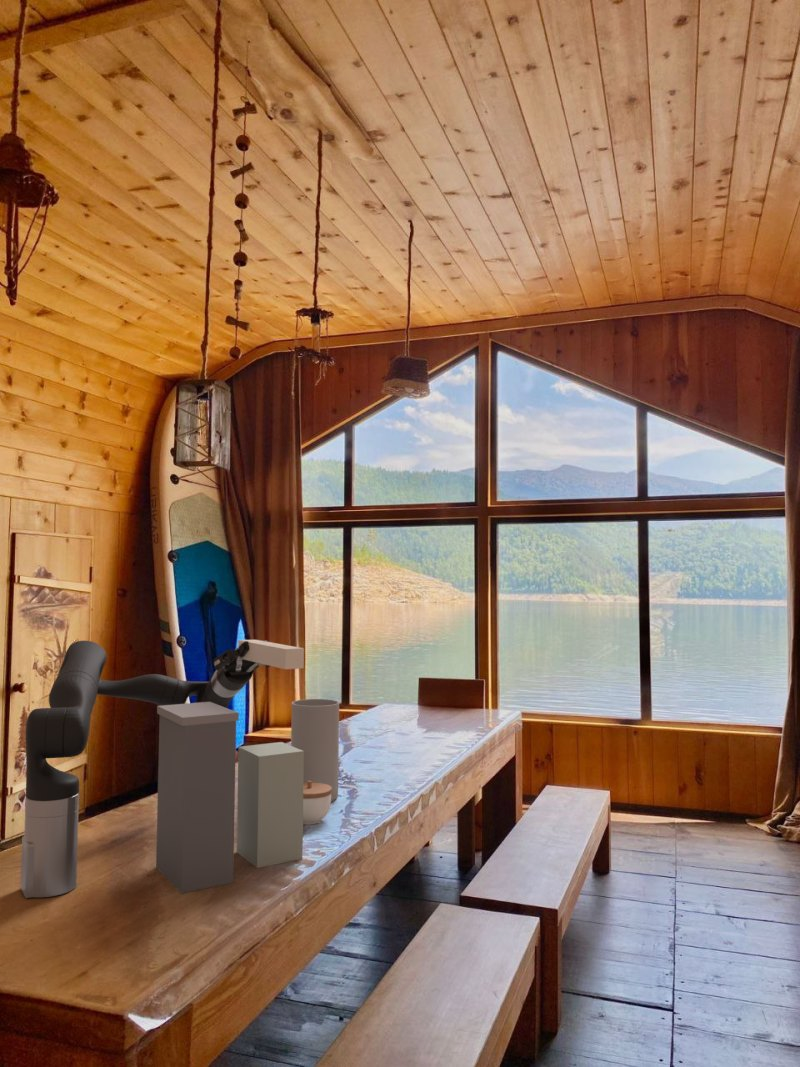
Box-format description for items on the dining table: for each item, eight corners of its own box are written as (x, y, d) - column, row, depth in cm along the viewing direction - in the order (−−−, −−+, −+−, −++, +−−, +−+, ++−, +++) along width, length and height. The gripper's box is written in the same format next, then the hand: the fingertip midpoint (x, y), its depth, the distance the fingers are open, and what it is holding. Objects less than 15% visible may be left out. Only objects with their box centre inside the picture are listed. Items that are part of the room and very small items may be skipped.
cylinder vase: (285, 794, 218) (287, 700, 219) (330, 790, 222) (331, 698, 224) (296, 806, 206) (298, 707, 208) (343, 802, 211) (344, 704, 212)
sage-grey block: (257, 867, 163) (259, 756, 164) (236, 852, 172) (238, 746, 173) (302, 858, 168) (303, 751, 169) (280, 843, 177) (281, 741, 179)
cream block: (285, 669, 162) (285, 649, 162) (238, 658, 183) (238, 640, 183) (303, 668, 164) (303, 648, 164) (254, 657, 185) (255, 639, 185)
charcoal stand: (178, 893, 149) (182, 717, 151) (153, 867, 163) (157, 705, 164) (235, 882, 155) (238, 712, 157) (206, 857, 168) (209, 701, 170)
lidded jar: (337, 816, 198) (338, 777, 199) (321, 829, 188) (322, 788, 188) (297, 812, 201) (297, 774, 202) (279, 825, 191) (279, 784, 191)
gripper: (199, 663, 189) (223, 630, 177) (256, 660, 197) (283, 628, 185) (204, 693, 186) (229, 661, 174) (262, 689, 193) (290, 658, 181)
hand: (257, 644), depth 179 cm, fingers closed on cream block, 4 cm apart
